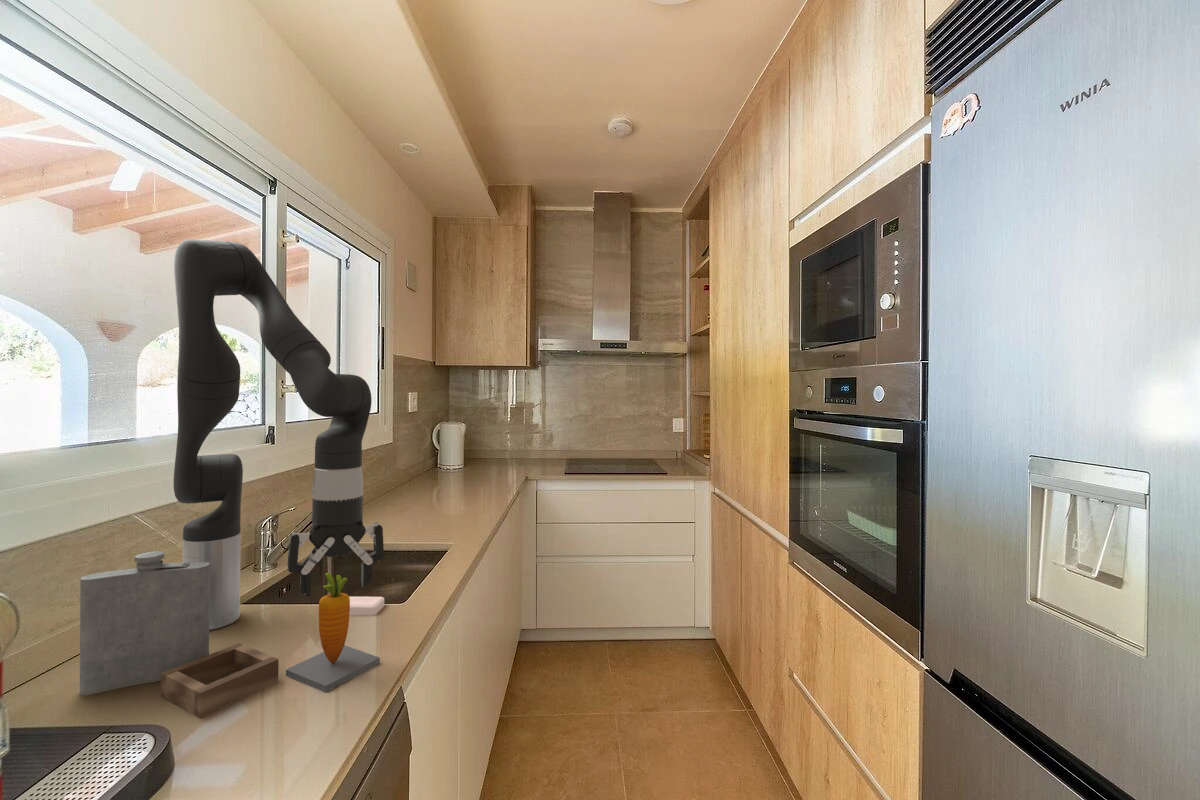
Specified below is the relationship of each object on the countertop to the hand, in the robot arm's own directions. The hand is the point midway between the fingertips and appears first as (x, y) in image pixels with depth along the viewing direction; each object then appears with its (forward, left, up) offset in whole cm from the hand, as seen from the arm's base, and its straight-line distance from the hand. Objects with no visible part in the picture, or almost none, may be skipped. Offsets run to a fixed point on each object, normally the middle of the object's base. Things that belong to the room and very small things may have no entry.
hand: (336, 590), depth 88 cm
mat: (0, -1, -13) cm, 13 cm away
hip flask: (-23, -17, -13) cm, 31 cm away
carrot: (0, -1, -12) cm, 12 cm away
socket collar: (-10, -13, -13) cm, 21 cm away
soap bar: (-17, +18, -14) cm, 28 cm away
